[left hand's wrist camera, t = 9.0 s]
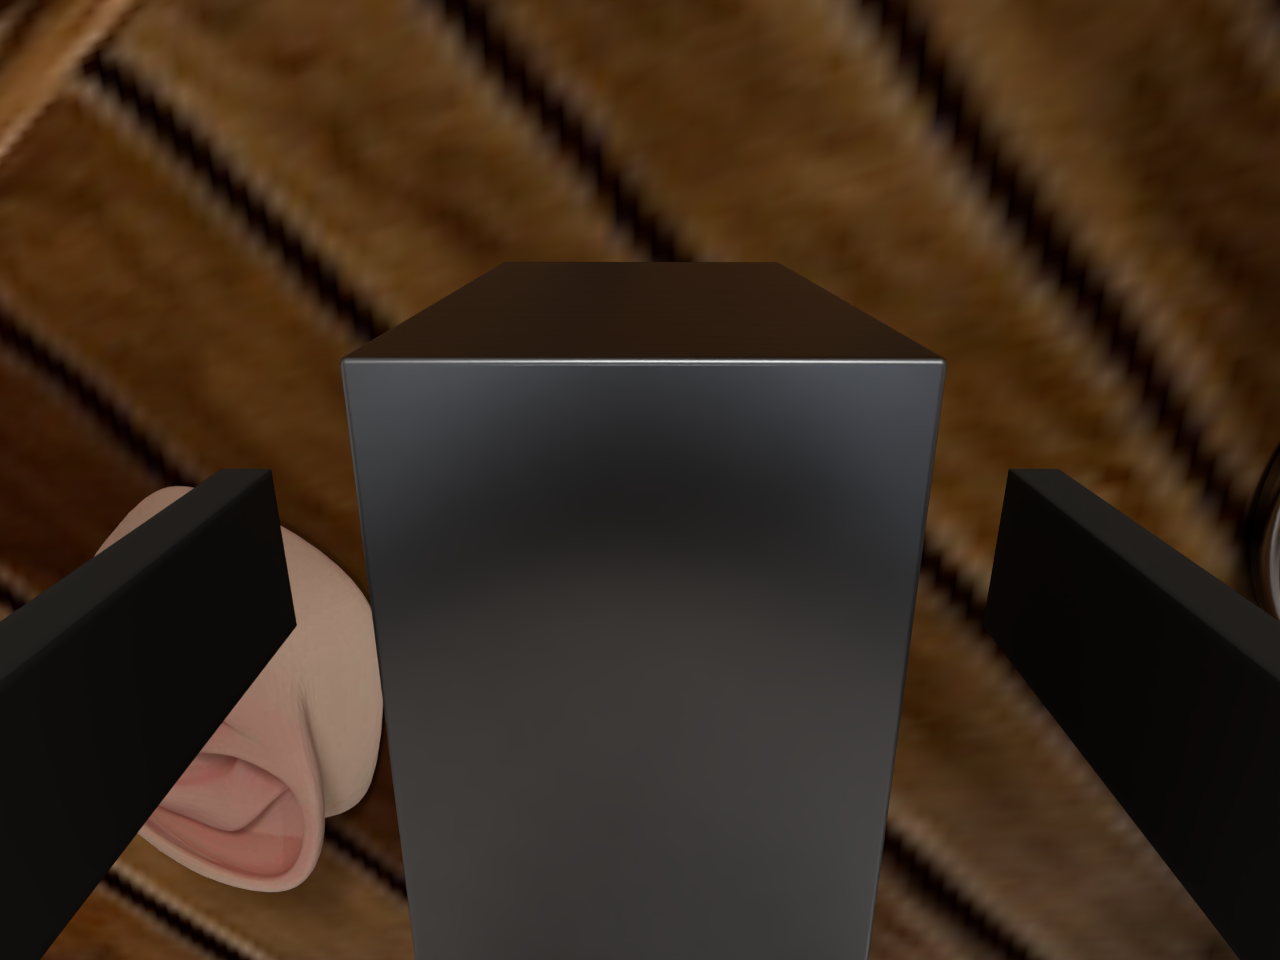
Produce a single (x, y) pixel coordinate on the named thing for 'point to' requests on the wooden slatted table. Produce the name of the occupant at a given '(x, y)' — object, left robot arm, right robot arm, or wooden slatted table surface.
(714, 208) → the wooden slatted table surface
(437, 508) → the bar
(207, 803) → the anatomical model
